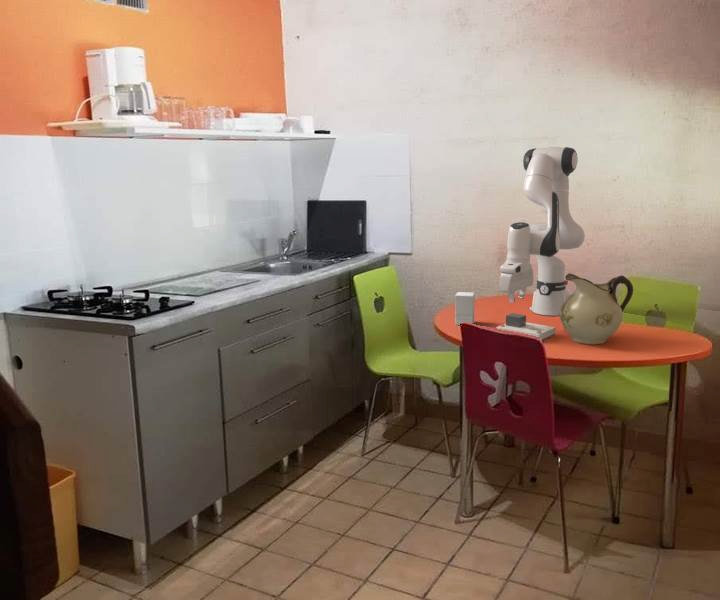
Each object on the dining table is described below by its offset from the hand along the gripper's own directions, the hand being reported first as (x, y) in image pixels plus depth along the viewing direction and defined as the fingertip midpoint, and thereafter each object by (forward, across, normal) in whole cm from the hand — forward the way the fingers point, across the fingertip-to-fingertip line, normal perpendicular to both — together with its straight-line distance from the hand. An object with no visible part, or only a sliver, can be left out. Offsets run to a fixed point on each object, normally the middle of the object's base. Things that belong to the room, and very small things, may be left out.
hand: (516, 300), depth 275 cm
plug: (+12, 0, 0) cm, 12 cm away
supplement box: (+13, 0, -24) cm, 27 cm away
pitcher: (+13, -9, +26) cm, 31 cm away
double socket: (+13, 0, +4) cm, 14 cm away
